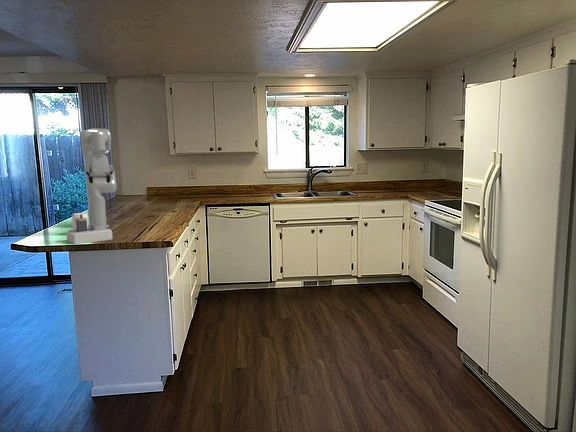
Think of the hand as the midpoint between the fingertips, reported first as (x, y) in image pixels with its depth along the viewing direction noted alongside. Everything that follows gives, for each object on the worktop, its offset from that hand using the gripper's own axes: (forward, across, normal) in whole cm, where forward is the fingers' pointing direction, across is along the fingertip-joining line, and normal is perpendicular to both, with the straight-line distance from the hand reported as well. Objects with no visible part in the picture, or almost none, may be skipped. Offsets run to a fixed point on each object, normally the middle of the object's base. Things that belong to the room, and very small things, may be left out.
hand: (99, 183), depth 263 cm
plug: (+28, +16, +13) cm, 35 cm away
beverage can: (+31, +9, -9) cm, 33 cm away
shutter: (+25, +7, +13) cm, 29 cm away
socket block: (+30, +12, +13) cm, 35 cm away
